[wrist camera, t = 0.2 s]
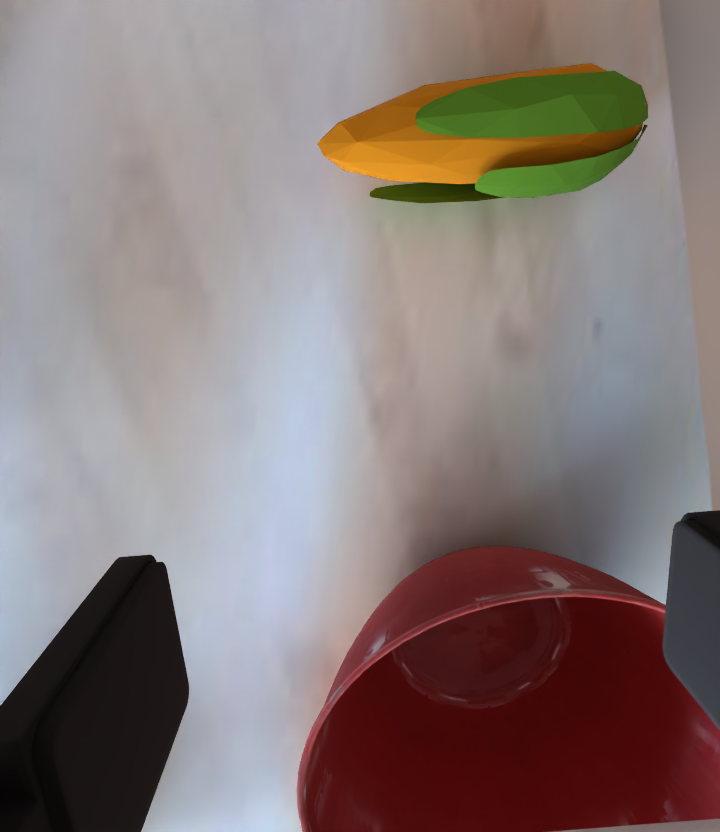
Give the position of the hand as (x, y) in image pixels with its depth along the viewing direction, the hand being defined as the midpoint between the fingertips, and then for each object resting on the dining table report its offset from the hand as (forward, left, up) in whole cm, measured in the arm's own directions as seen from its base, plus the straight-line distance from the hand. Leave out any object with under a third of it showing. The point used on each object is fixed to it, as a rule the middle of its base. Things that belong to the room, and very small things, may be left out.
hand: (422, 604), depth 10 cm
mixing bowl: (+25, +8, -31) cm, 41 cm away
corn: (-13, +8, -31) cm, 35 cm away
